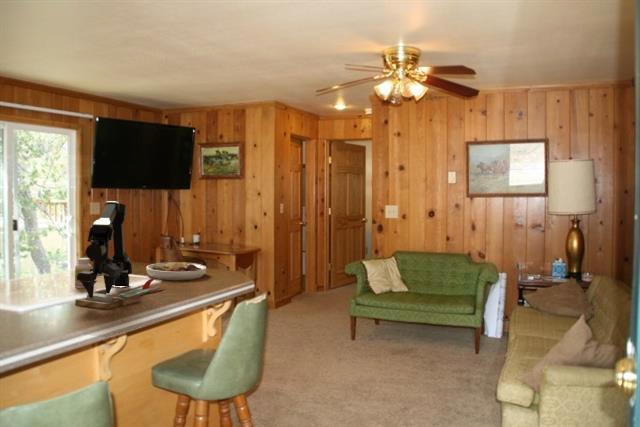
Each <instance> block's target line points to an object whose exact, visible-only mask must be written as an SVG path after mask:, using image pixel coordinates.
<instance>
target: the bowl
mask: <svg viewBox="0 0 640 427" xmlns="http://www.w3.org/2000/svg"><path fill="white" fill-rule="evenodd" d="M206 272H207V266H206V265H203V264H200V263H194V262H186V261H184V262H183V261H182V262H172V261H171V262H159V263H153V264H149V265H147V266H146V273H147V274H148V276H150V277H152V279H156V278H157V279H156V280H163V281H188V280H189V281H190V280H196V279H199V278H202V277H203V276H204V275H205V274H206Z"/></svg>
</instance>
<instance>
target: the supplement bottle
mask: <svg viewBox="0 0 640 427" xmlns="http://www.w3.org/2000/svg"><path fill="white" fill-rule="evenodd" d="M89 262H90V258H88V257H79V258H77V264H76V265H75V268H74V287H75V288H78V289H85V287H84V286H83V284H82V283H81V282H79V280H77V274H78V273H80V272H85V271H87V272H90V269H92V265H91V263H89Z"/></svg>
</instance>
